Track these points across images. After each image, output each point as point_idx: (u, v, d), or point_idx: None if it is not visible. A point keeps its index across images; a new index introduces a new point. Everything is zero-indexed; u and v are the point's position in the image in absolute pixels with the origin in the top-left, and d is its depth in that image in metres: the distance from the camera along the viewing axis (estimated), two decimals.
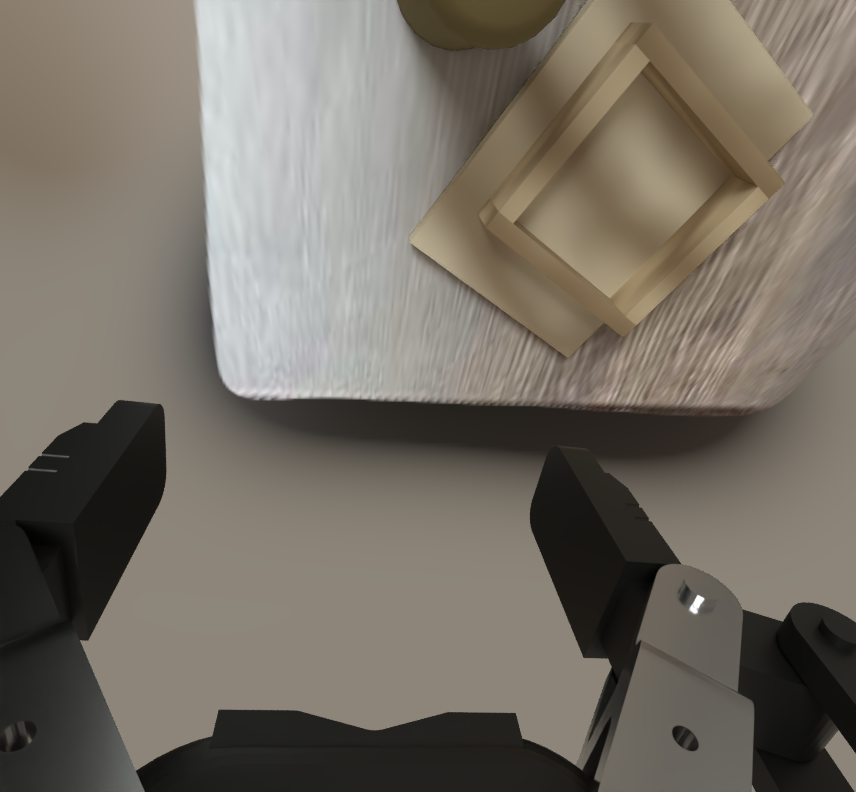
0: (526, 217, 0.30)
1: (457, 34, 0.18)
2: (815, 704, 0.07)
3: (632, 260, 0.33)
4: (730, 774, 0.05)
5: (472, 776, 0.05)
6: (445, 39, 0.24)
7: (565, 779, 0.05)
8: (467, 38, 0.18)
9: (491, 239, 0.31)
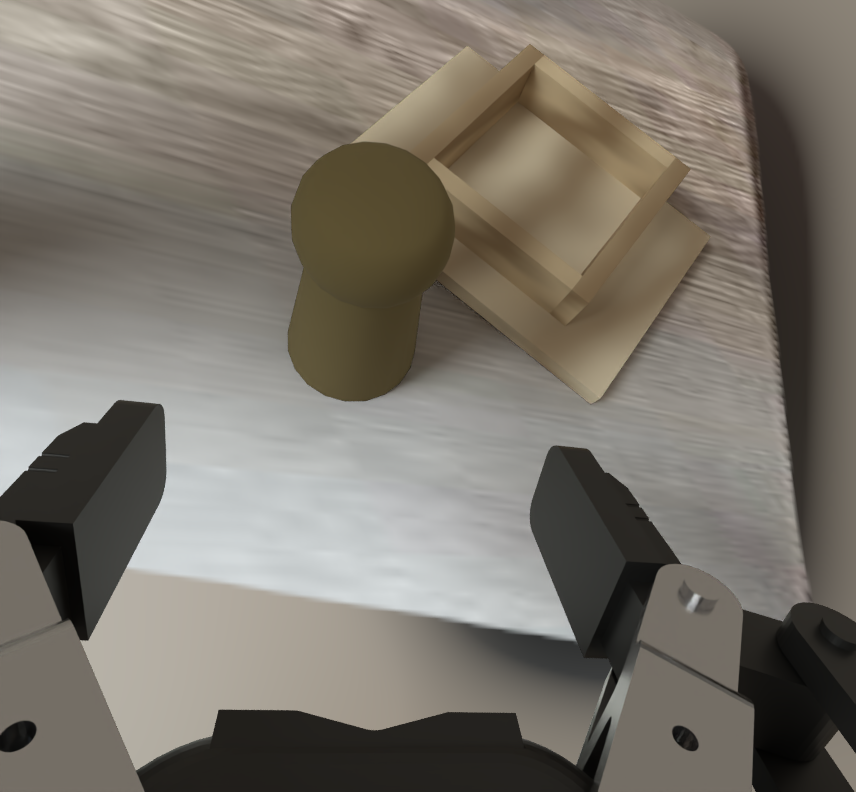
0: None
1: (443, 261, 0.17)
2: (815, 704, 0.07)
3: (601, 179, 0.31)
4: (730, 774, 0.05)
5: (472, 776, 0.05)
6: (414, 337, 0.24)
7: (565, 779, 0.05)
8: (449, 248, 0.17)
9: (590, 313, 0.28)
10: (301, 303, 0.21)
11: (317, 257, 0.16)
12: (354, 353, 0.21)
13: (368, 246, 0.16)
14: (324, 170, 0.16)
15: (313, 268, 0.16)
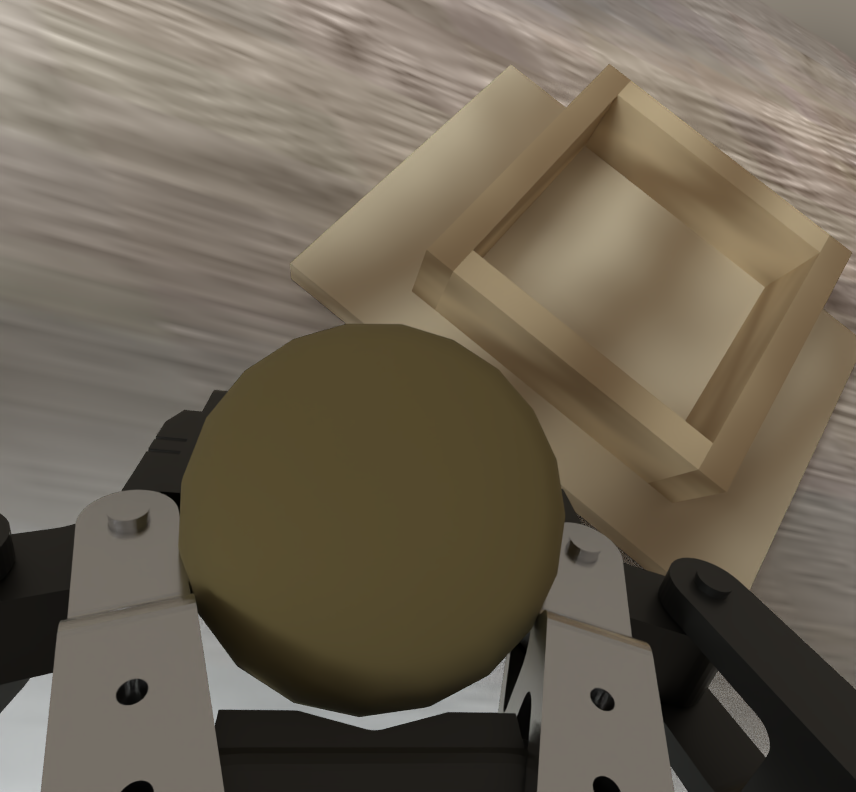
0: None
1: None
2: (687, 649, 0.08)
3: (707, 259, 0.21)
4: (645, 722, 0.05)
5: (472, 776, 0.05)
6: None
7: None
8: (554, 579, 0.07)
9: None
10: None
11: (233, 654, 0.06)
12: None
13: (363, 653, 0.06)
14: (252, 429, 0.06)
15: (228, 653, 0.07)
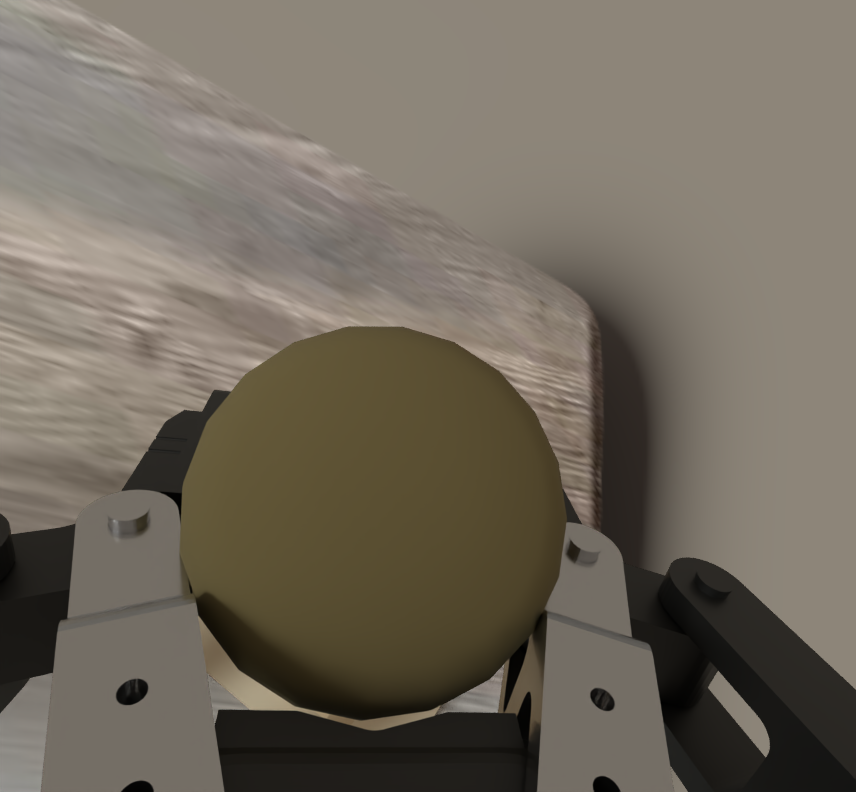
0: None
1: None
2: (687, 649, 0.08)
3: None
4: (645, 722, 0.05)
5: (472, 776, 0.05)
6: None
7: None
8: (556, 582, 0.07)
9: None
10: None
11: (233, 657, 0.06)
12: None
13: (363, 658, 0.06)
14: (252, 433, 0.06)
15: (230, 657, 0.07)
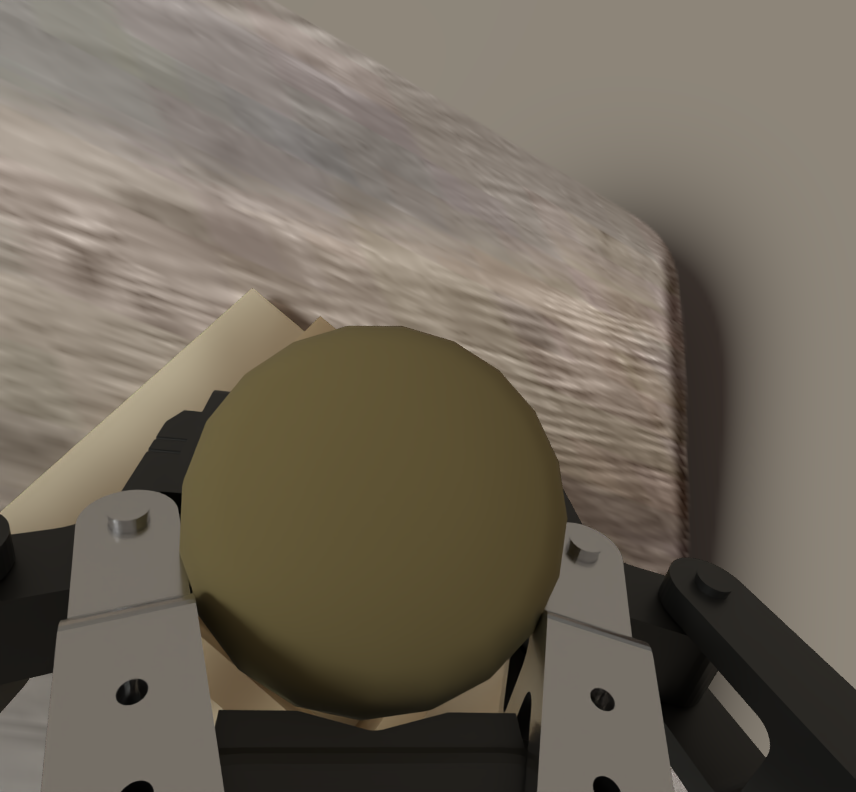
0: None
1: None
2: (687, 649, 0.08)
3: None
4: (645, 722, 0.05)
5: (472, 776, 0.05)
6: None
7: None
8: (556, 581, 0.07)
9: None
10: None
11: (233, 657, 0.06)
12: None
13: (363, 657, 0.06)
14: (252, 432, 0.06)
15: (230, 656, 0.07)
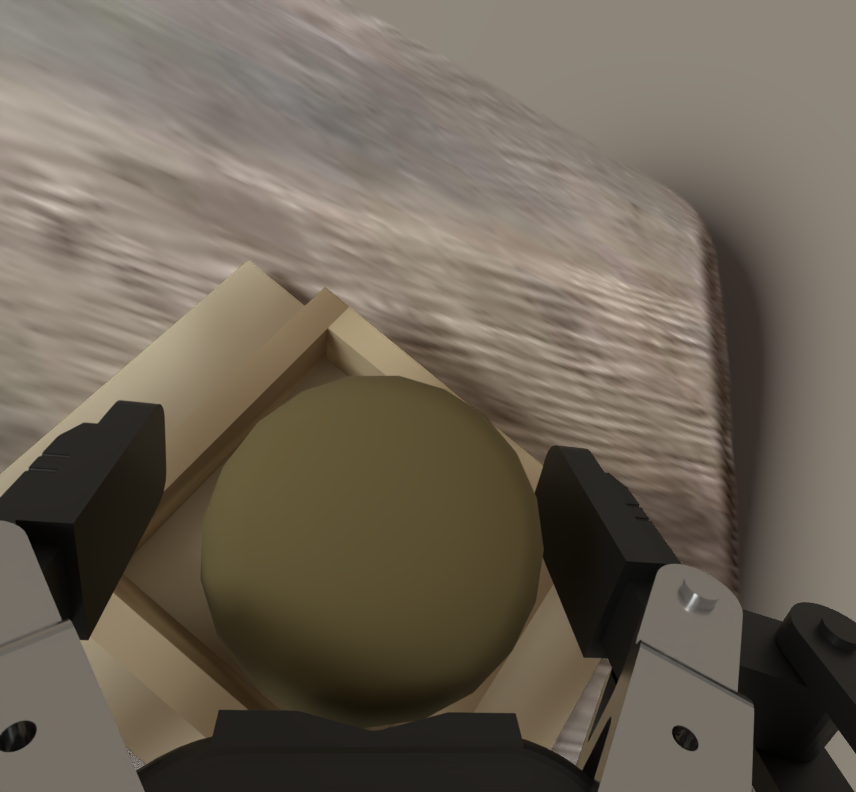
0: None
1: None
2: (815, 704, 0.07)
3: None
4: (730, 774, 0.05)
5: (472, 776, 0.05)
6: None
7: (565, 779, 0.05)
8: (533, 606, 0.08)
9: None
10: None
11: (250, 675, 0.07)
12: None
13: (363, 676, 0.07)
14: (268, 478, 0.07)
15: (245, 672, 0.08)
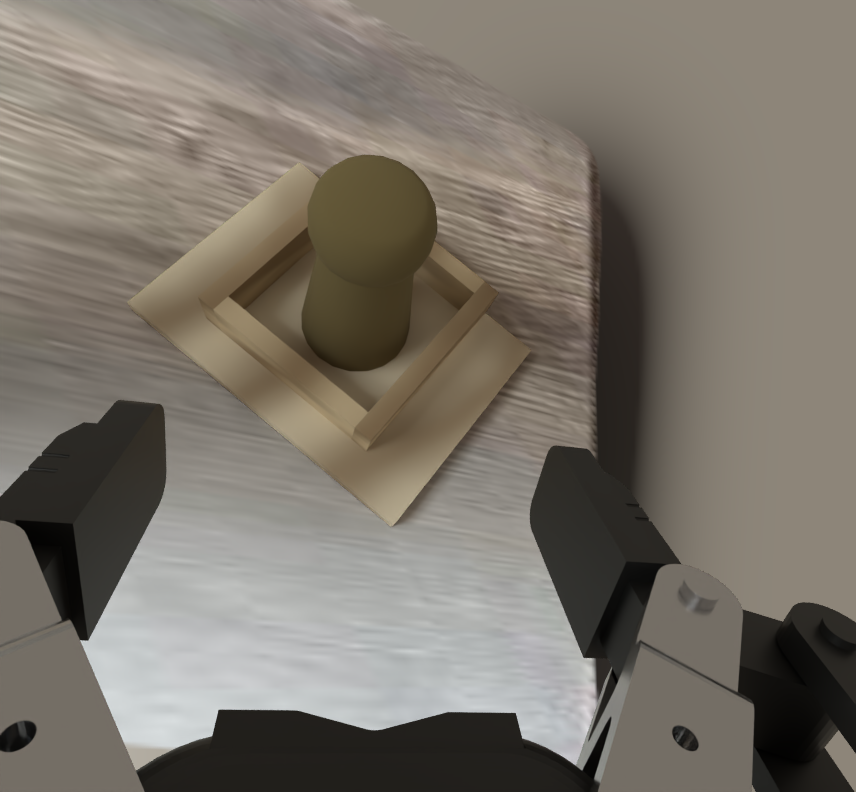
0: (373, 401, 0.30)
1: (427, 249, 0.22)
2: (815, 704, 0.07)
3: (423, 295, 0.32)
4: (730, 774, 0.05)
5: (472, 776, 0.05)
6: (408, 316, 0.28)
7: (565, 779, 0.05)
8: (431, 239, 0.22)
9: (394, 436, 0.29)
10: (314, 286, 0.26)
11: (328, 245, 0.21)
12: (357, 327, 0.26)
13: (367, 236, 0.20)
14: (334, 178, 0.21)
15: (325, 254, 0.21)
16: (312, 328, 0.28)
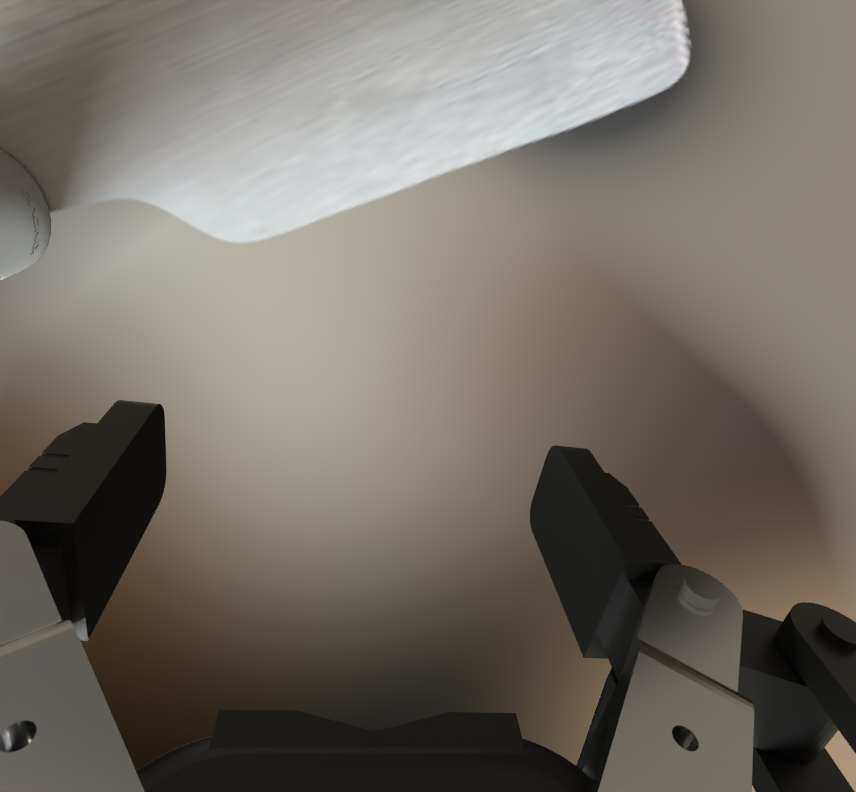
0: None
1: None
2: (815, 704, 0.07)
3: None
4: (730, 774, 0.05)
5: (472, 776, 0.05)
6: None
7: (565, 779, 0.05)
8: None
9: None
10: None
11: None
12: None
13: None
14: None
15: None
16: None
